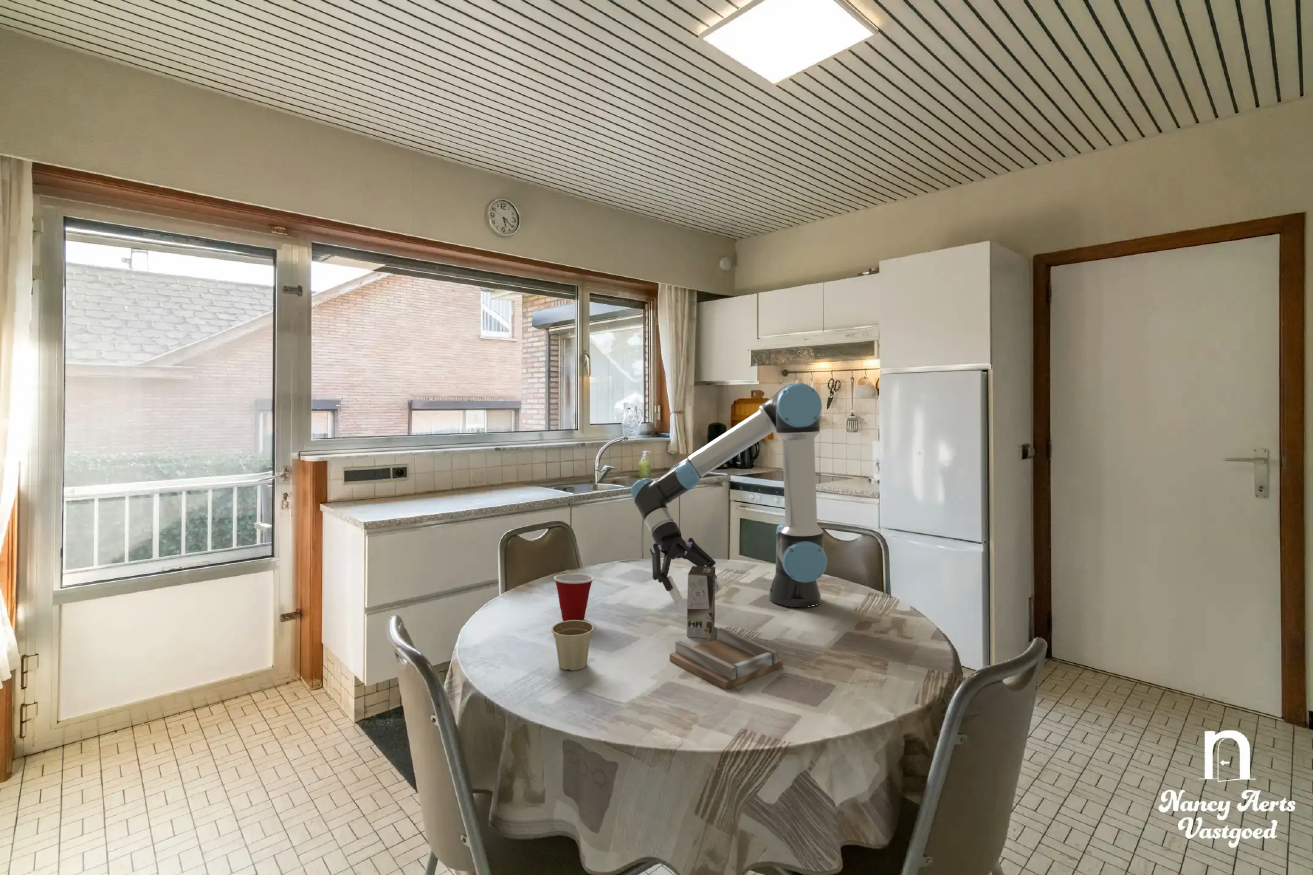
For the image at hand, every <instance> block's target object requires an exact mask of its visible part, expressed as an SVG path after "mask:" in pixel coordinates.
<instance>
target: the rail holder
mask: <svg viewBox="0 0 1313 875" xmlns="http://www.w3.org/2000/svg"><path fill="white" fill-rule="evenodd" d="M716 632H717V633H716V639H713V640H710V641H707V642H704V643H700V644H698V645H695V646H693V645H691V644H688V643H686V642H684V641H682V640H680V639H679V640H676V641H675V652H672V653H670V654H669V661H670V662H672V663H673V664H675V665H677V666H679V667H681V668H683V669H685V670H687V671H689V672H690V673H692V674H695V675H696V676H698V677H700V678H702V679H703V680H706V681H708V682H709V683H711V684H714V685H716V686H717V687H719V688H721V689H723V690H729V689H730V688H731V689H732V688H733V687H736V686H739V685H741V684H743V683H747V682H748V681H752V680H754V679H756V678H759V677H761V676H764V675H766V674H769V673H772V672H774V671H777V670H780V669H783V667H784V662H783V659H779V658H778V655H779V654H778V651H777V650H775V649H772V648H770V647H767V646H764V645H763V644H760V643H757V642H756V641H753V640H751V639H748V638H746V637H743V636H741V635H740V634H736V633H734V632H732V631H729V630H727V629H724V628H723V627H718V628H717V629H716Z"/></svg>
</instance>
